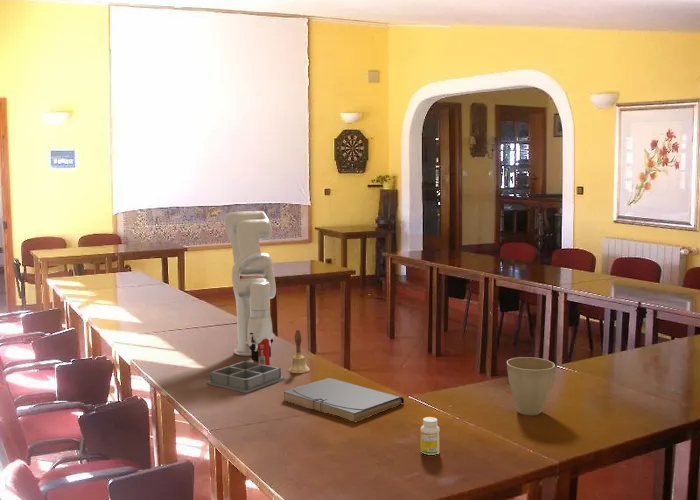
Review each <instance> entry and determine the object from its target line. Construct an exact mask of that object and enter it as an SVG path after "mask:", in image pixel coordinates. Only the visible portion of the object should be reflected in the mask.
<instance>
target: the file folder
mask: <svg viewBox="0 0 700 500" xmlns="http://www.w3.org/2000/svg"><path fill="white" fill-rule="evenodd" d="M282 392H283V401H284V402H287V401H288V403H290V402H291V404H293V403H294V405H297V406H300V407H303V408H306V409H311V410H312V411H317V410H318V412H321V411H322V412H321V413H323V412H324V413H323V414H326V413H329V414H328V415H330V414H335V415H338V416H341V417H344V418H347V419H349V420H352V421H354V422H355V421H358V420H361V419H363V418H366V417H368V416H370V415H373V414H375V413H378V412H381V411H383V410H386V409H389V408H392V407H394V406H397V405H399V404H401V403H403V404H404V403H405V399H404V398H403V397H402V396H398V395H394V394H392V393H387V392H384V391H382V390H381V391H380V390H377V389H373V388H370V387H369V388H368V387H366V386H362V385H359V384H358V385H357V384H354V383H351V382H347V381H345V380H344V381H343V380H340V379H335V378H333V377H327V378H324V379H321V380H317V381H314V382H309V383H306V384H302V385H299V386H296V387H293V388H291V389H287V390H283V391H282ZM401 405H402V404H401ZM314 409H315V410H314ZM392 409H393V408H392ZM361 421H362V420H361ZM354 422H353V423H354Z"/></svg>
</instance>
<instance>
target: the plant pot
mask: <svg viewBox="0 0 700 500" xmlns="http://www.w3.org/2000/svg"><path fill="white" fill-rule="evenodd" d="M555 366H556V365H555V363H554V362H553V361H550V360H548V359H544V358H540V357H529V356H527V357H525V356H524V357H523V356H522V357H521V356H520V357H519V356H518V357H513V358H510V359H507V360H506V367H507V368H506V369H507V376H508V384H509V387H510V391H511V395H512V399H513V402H514V405H515V407H516V408H515V409H516V410H517V412H518V413H520V414H521V415H525V416H537V415H540V414H541V413H542V410H543V409H544V407H545V405H546V404H545V403H546V402H547V399H548V397H549V396H548V395H549V392H550V389H551V387H552V384H553V383H552V381H553V378H554V372H555Z"/></svg>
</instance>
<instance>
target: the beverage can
mask: <svg viewBox="0 0 700 500" xmlns="http://www.w3.org/2000/svg"><path fill="white" fill-rule="evenodd" d="M254 343H255V341H254ZM254 347H255V344H254ZM257 351H258V355H259V360H258V361H253V360H252V362H254V363H258V364H263V365H268V366H271V365H270V360H271V359H270V357H269V340H268V339H267V338H264V339H263V340H262V341H261V343H259V344H258V349H257Z"/></svg>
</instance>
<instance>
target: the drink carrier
mask: <svg viewBox="0 0 700 500" xmlns="http://www.w3.org/2000/svg"><path fill="white" fill-rule="evenodd" d="M281 371H282V368H281V367H277V366H272V365H269V366H268V365H263V364H258V363H254V362H253V361H249V360H248V361H247V360H243V361H240V362H236V363H234V364H231V365H228V366H223V367H222V368H221V367H220V368H217V369H215V370H212V371H210V372H209V380H208V381H206V384H207V385H212V386H215V387H220V388H223V389H229V390H231V391H237V392H241V393H245V394H248V393H252V392H254V391H256V390H258V389H261V388H264V387H268V386H271V385H272V384H275V383H278V382H281V381H284V380H285V377H284V376H282V372H281Z"/></svg>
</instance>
